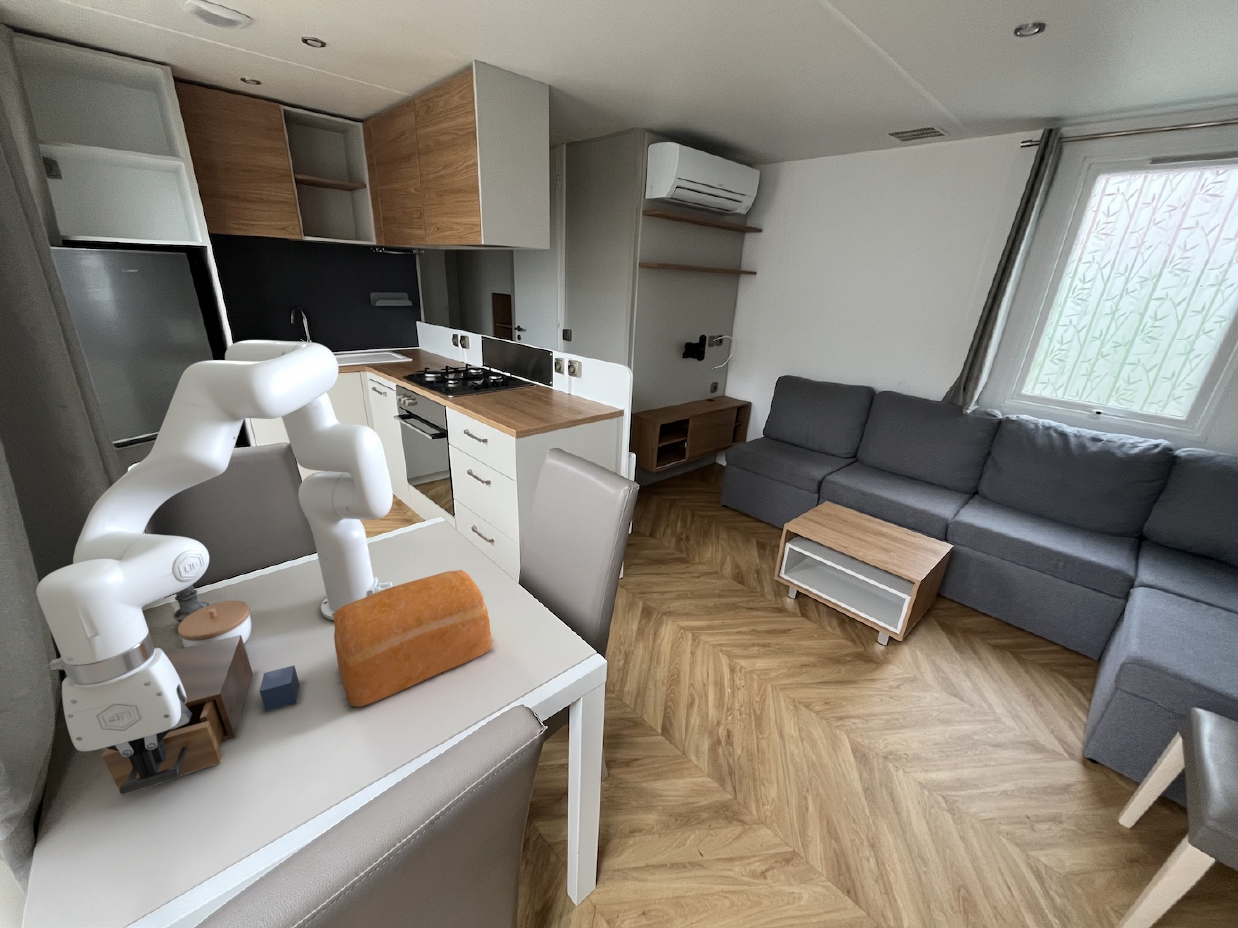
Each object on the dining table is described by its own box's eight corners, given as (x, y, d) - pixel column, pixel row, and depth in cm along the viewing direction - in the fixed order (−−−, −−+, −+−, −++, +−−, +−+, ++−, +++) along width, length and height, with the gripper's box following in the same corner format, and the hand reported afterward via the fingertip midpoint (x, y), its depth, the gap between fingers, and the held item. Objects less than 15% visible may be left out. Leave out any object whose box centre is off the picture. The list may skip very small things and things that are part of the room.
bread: (498, 652, 97) (492, 584, 92) (351, 716, 83) (334, 640, 77) (472, 615, 108) (465, 553, 102) (337, 666, 93) (321, 596, 87)
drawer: (212, 791, 69) (197, 753, 67) (104, 826, 65) (84, 787, 62) (240, 697, 85) (229, 663, 82) (155, 720, 80) (140, 685, 77)
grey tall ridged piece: (221, 616, 106) (206, 568, 101) (196, 635, 100) (179, 585, 96) (196, 614, 106) (180, 566, 102) (170, 632, 101) (152, 582, 96)
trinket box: (270, 638, 100) (259, 599, 96) (215, 676, 90) (200, 634, 87) (233, 626, 103) (221, 588, 100) (175, 661, 93) (160, 620, 90)
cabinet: (235, 737, 78) (220, 693, 75) (131, 768, 73) (111, 722, 70) (253, 674, 91) (241, 634, 87) (166, 697, 86) (149, 655, 82)
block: (299, 684, 89) (294, 664, 87) (296, 703, 85) (291, 682, 83) (270, 692, 87) (264, 672, 85) (265, 711, 83) (259, 691, 82)
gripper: (7, 696, 55) (63, 815, 61) (179, 658, 61) (214, 769, 67) (45, 654, 61) (91, 765, 67) (196, 623, 67) (227, 727, 73)
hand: (152, 766), depth 67 cm, fingers closed
